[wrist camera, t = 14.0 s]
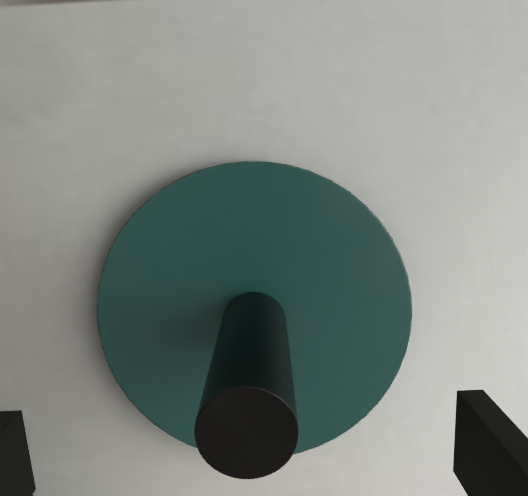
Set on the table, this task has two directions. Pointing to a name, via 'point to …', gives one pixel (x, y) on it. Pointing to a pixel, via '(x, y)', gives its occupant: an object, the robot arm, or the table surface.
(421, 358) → the table surface
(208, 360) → the lid
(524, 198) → the table surface
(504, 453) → the robot arm
